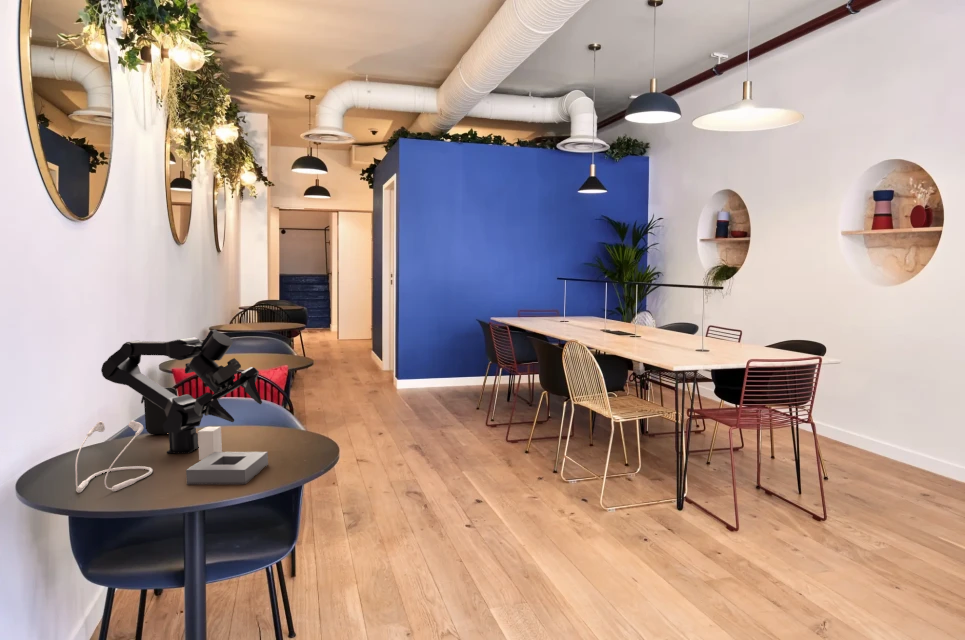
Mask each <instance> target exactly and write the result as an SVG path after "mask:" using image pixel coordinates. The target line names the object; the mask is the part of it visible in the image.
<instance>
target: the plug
mask: <svg viewBox="0 0 965 640" xmlns="http://www.w3.org/2000/svg"><path fill="white" fill-rule="evenodd" d="M197 433H198V445H199V448H198V461H199V460H202V459H204V458H206V457H207V456H209V455H210V454H212V453H213V452H223V447H222V446H223V445H222V443H223V442H222V426H205V427H203V428H202V429H200V430H198V431H197Z"/></svg>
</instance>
